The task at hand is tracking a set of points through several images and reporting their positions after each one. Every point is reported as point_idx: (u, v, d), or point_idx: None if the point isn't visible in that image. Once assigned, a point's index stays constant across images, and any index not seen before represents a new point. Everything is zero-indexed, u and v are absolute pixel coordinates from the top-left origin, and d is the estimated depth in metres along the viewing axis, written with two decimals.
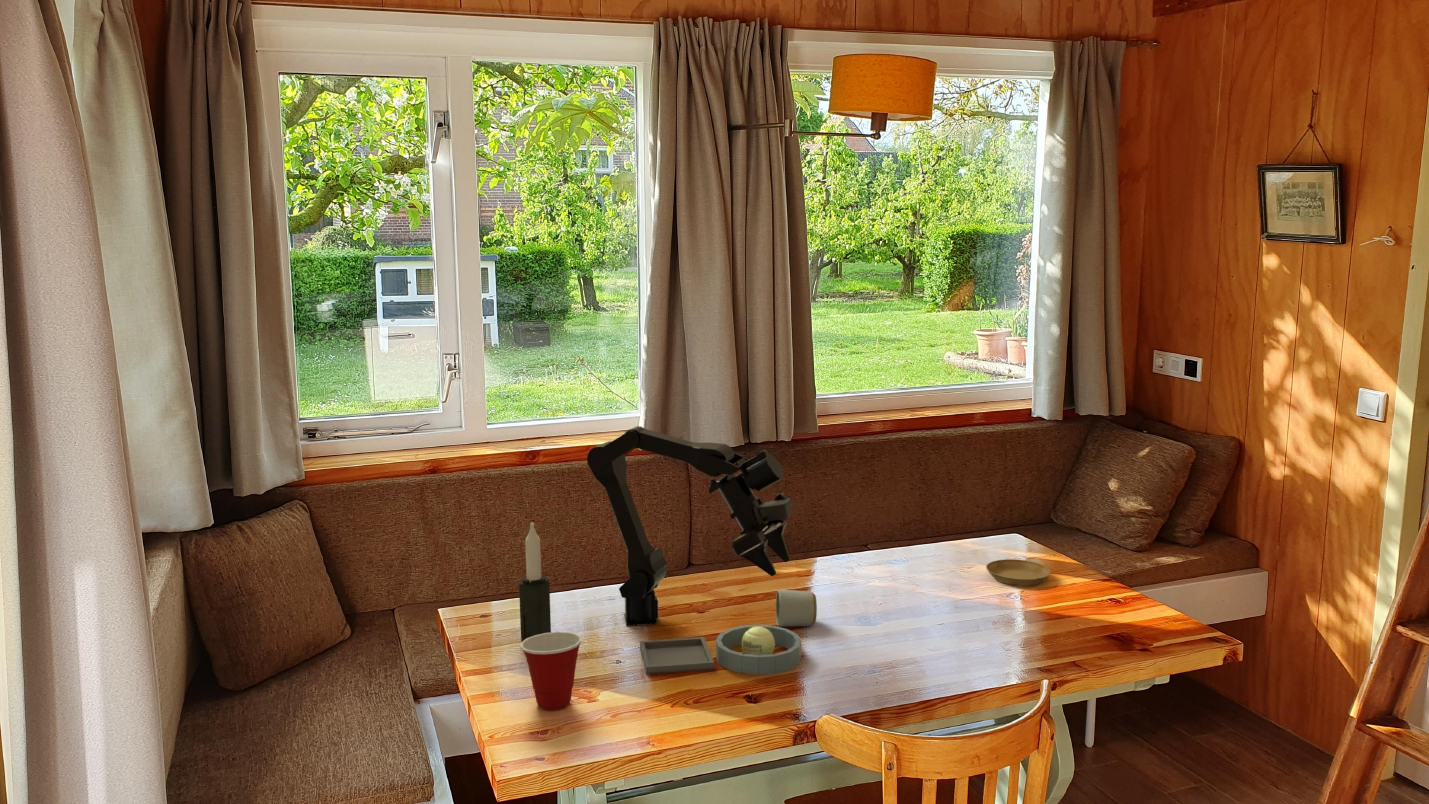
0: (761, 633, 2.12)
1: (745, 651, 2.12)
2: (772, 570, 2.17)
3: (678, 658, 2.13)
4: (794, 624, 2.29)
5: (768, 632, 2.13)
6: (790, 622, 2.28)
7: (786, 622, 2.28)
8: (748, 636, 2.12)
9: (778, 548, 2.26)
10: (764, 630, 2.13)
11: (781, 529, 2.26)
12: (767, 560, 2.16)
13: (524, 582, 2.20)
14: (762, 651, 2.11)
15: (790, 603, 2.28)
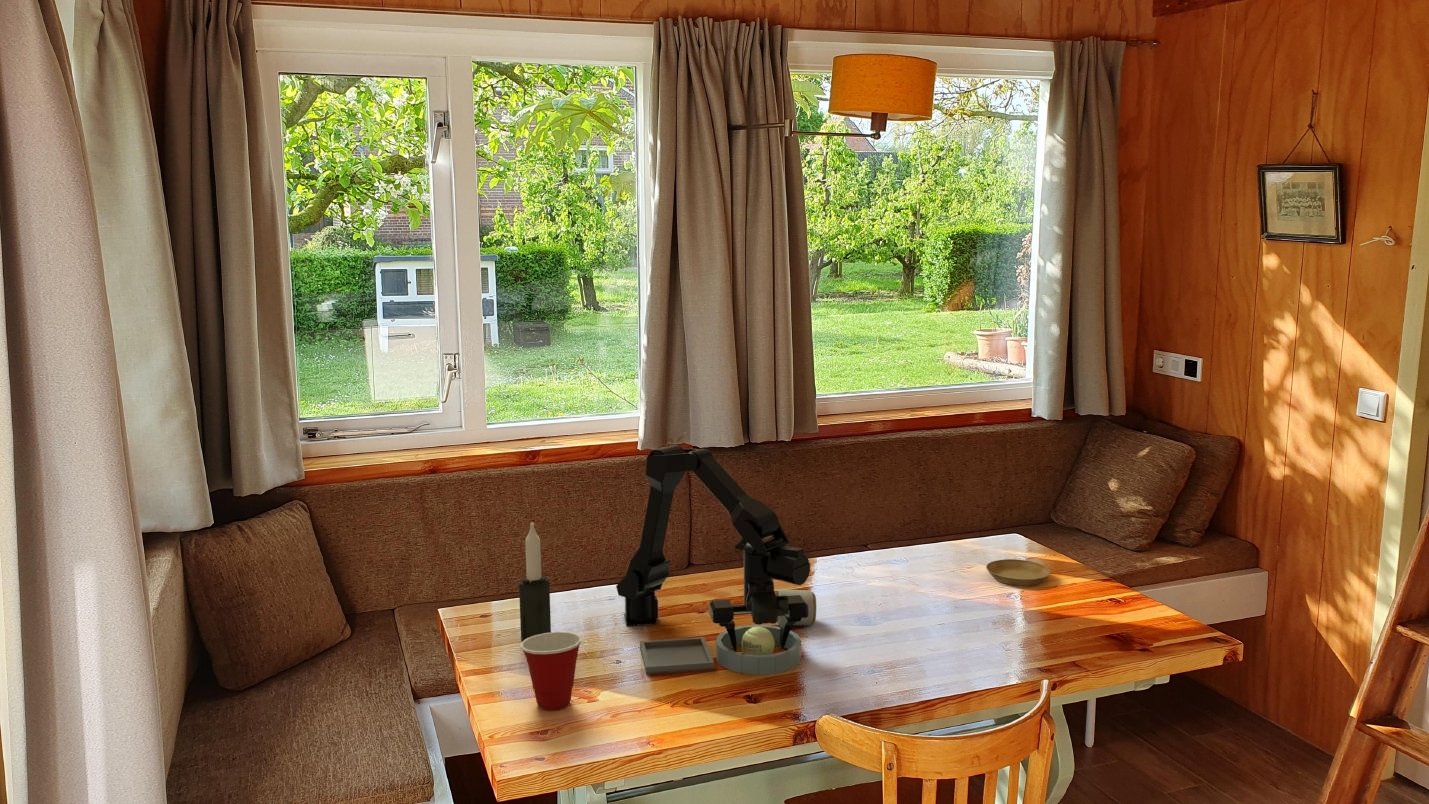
0: (761, 633, 2.12)
1: (745, 651, 2.12)
2: (733, 648, 2.13)
3: (678, 658, 2.13)
4: None
5: (768, 632, 2.13)
6: None
7: None
8: (748, 636, 2.12)
9: (781, 632, 2.15)
10: (764, 630, 2.13)
11: (786, 622, 2.12)
12: (730, 638, 2.12)
13: (524, 582, 2.20)
14: (762, 651, 2.11)
15: None
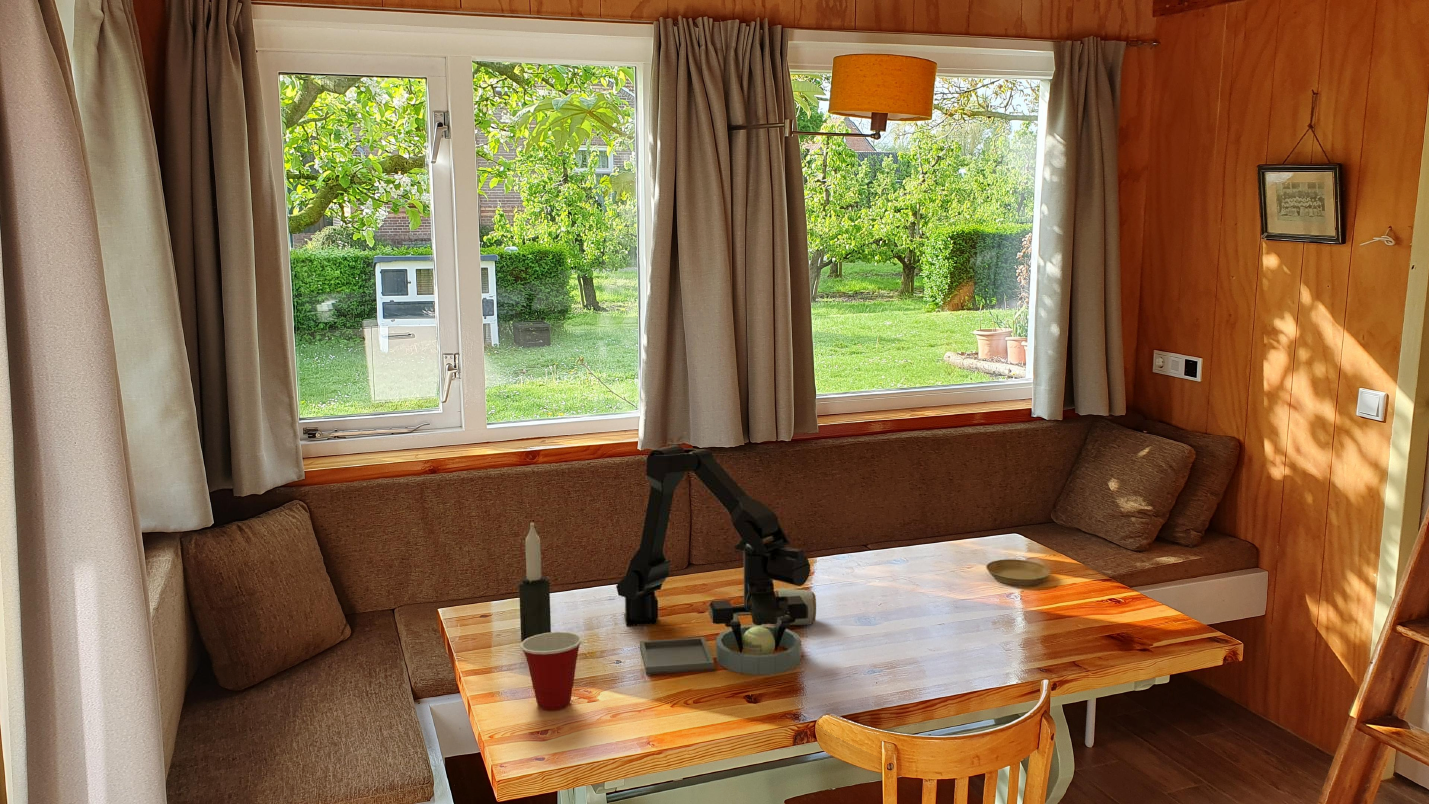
0: (761, 633, 2.12)
1: (745, 651, 2.12)
2: None
3: (678, 658, 2.13)
4: (794, 623, 2.29)
5: (768, 632, 2.13)
6: None
7: None
8: (748, 636, 2.12)
9: (775, 633, 2.15)
10: (764, 630, 2.13)
11: (780, 623, 2.12)
12: (735, 638, 2.12)
13: (524, 582, 2.20)
14: (762, 651, 2.11)
15: None
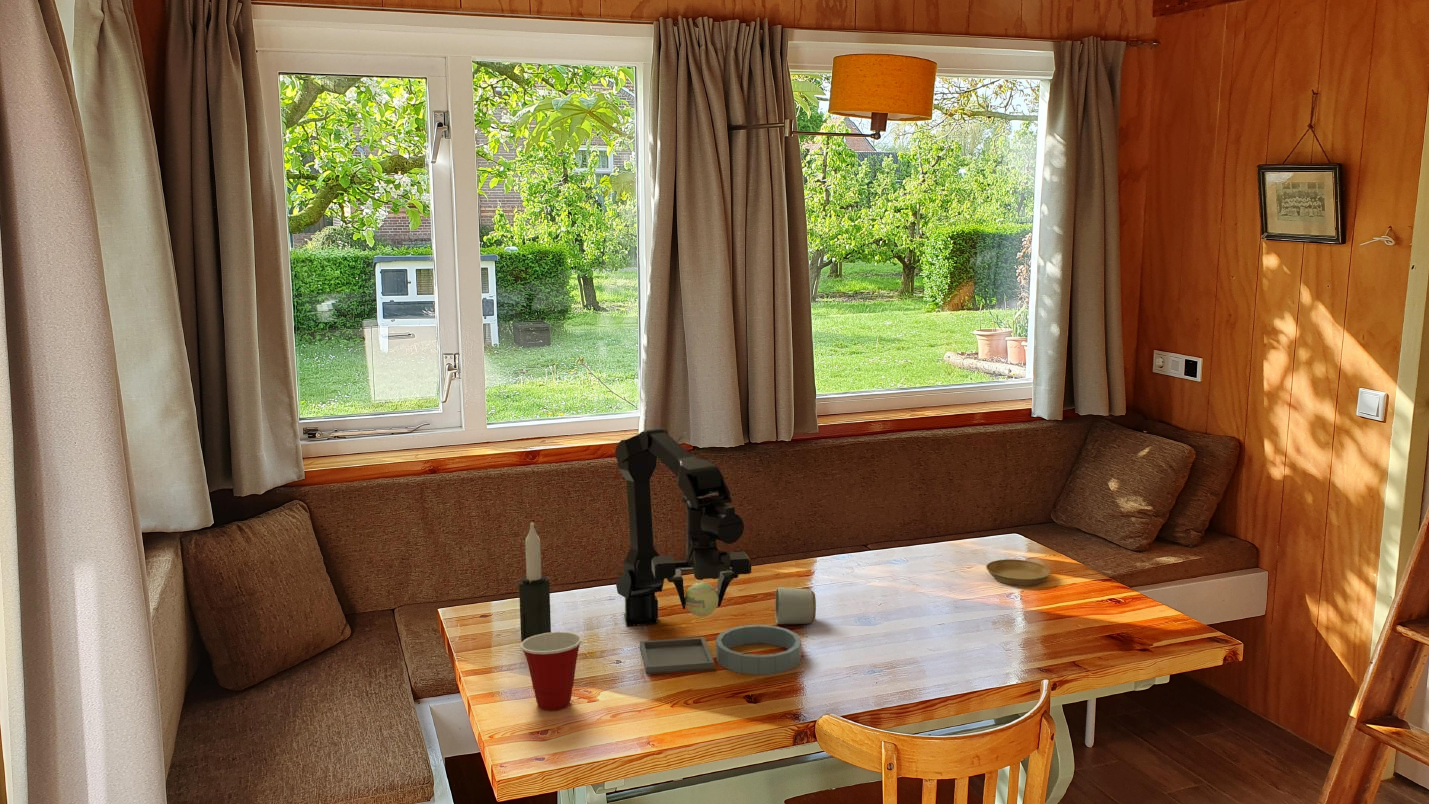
0: (704, 589, 2.10)
1: (688, 607, 2.11)
2: (681, 604, 2.12)
3: (678, 658, 2.13)
4: (793, 622, 2.30)
5: (711, 588, 2.11)
6: (789, 620, 2.30)
7: (785, 620, 2.29)
8: (691, 591, 2.10)
9: (718, 589, 2.13)
10: (707, 586, 2.11)
11: (723, 578, 2.10)
12: (678, 593, 2.11)
13: (524, 582, 2.20)
14: (705, 607, 2.09)
15: (789, 601, 2.29)
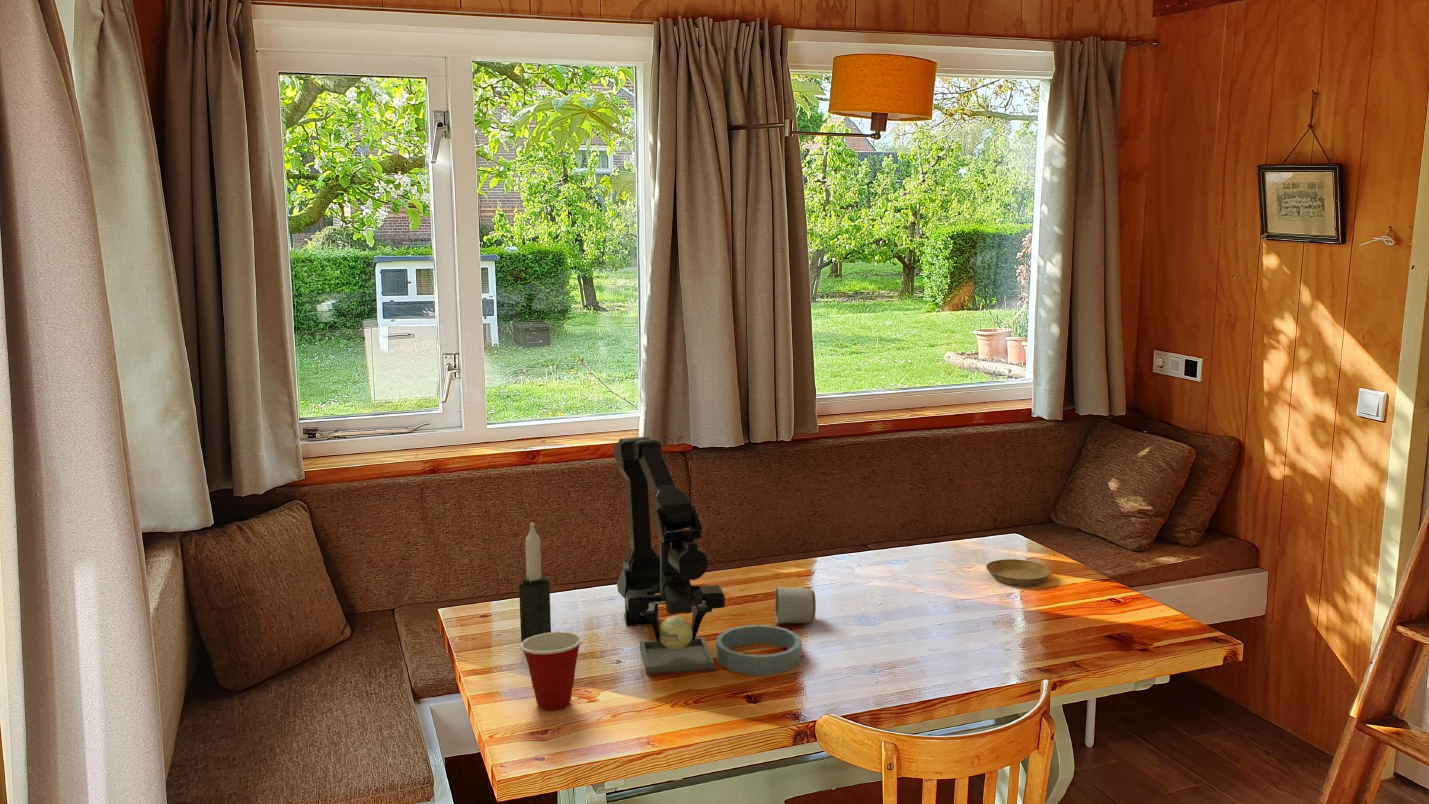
0: (678, 623, 2.11)
1: (662, 640, 2.12)
2: None
3: (678, 658, 2.13)
4: (793, 621, 2.31)
5: (685, 621, 2.12)
6: (789, 619, 2.30)
7: (785, 619, 2.30)
8: (665, 625, 2.11)
9: (692, 623, 2.14)
10: (681, 619, 2.12)
11: (696, 612, 2.11)
12: (652, 627, 2.11)
13: (524, 582, 2.20)
14: (678, 641, 2.10)
15: (789, 600, 2.29)
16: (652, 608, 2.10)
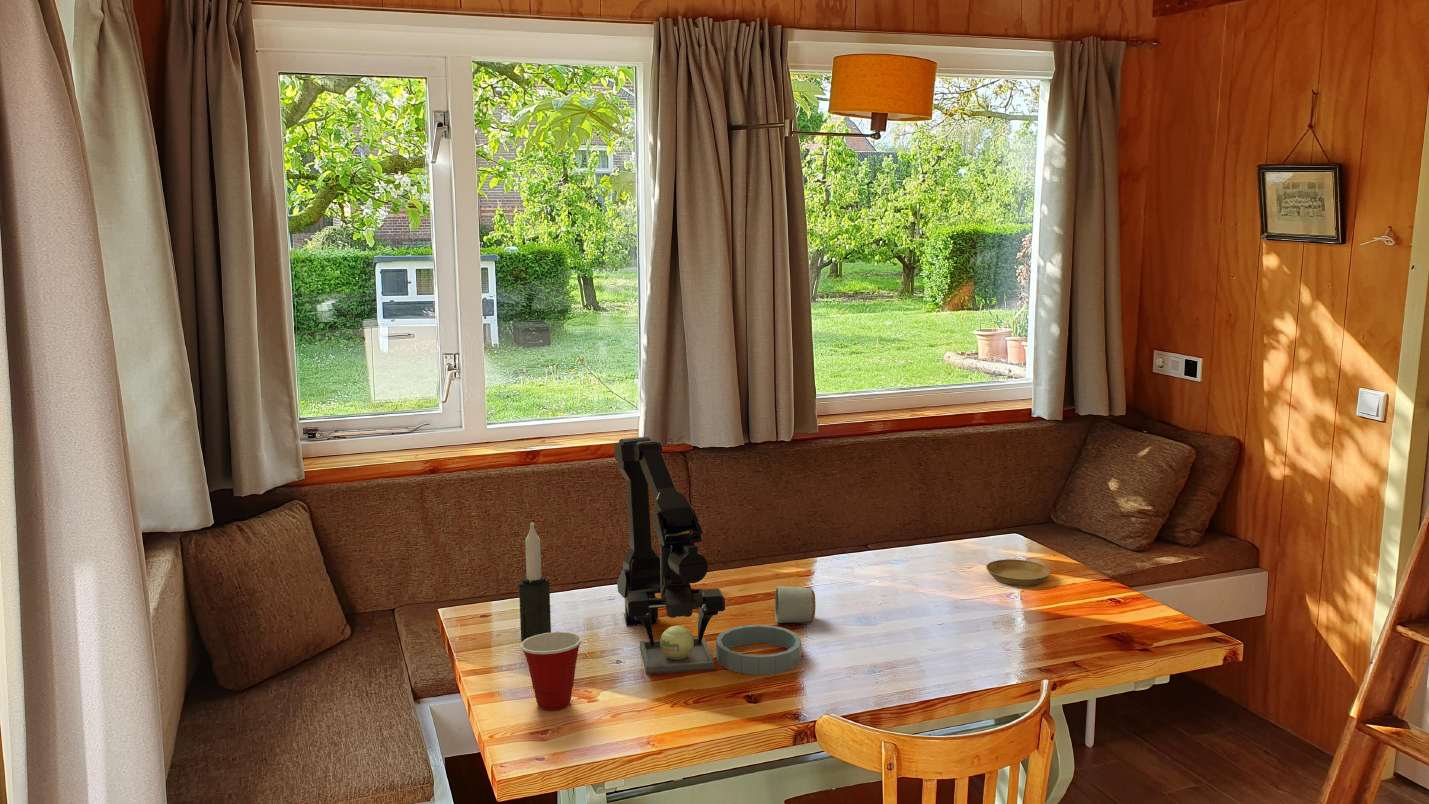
0: (679, 633, 2.11)
1: (663, 650, 2.12)
2: (650, 641, 2.12)
3: None
4: (793, 620, 2.31)
5: (686, 631, 2.12)
6: (789, 618, 2.30)
7: (785, 618, 2.30)
8: (666, 635, 2.12)
9: (699, 626, 2.14)
10: (682, 629, 2.12)
11: (703, 615, 2.11)
12: None
13: (524, 582, 2.20)
14: (679, 651, 2.10)
15: (789, 599, 2.30)
16: None
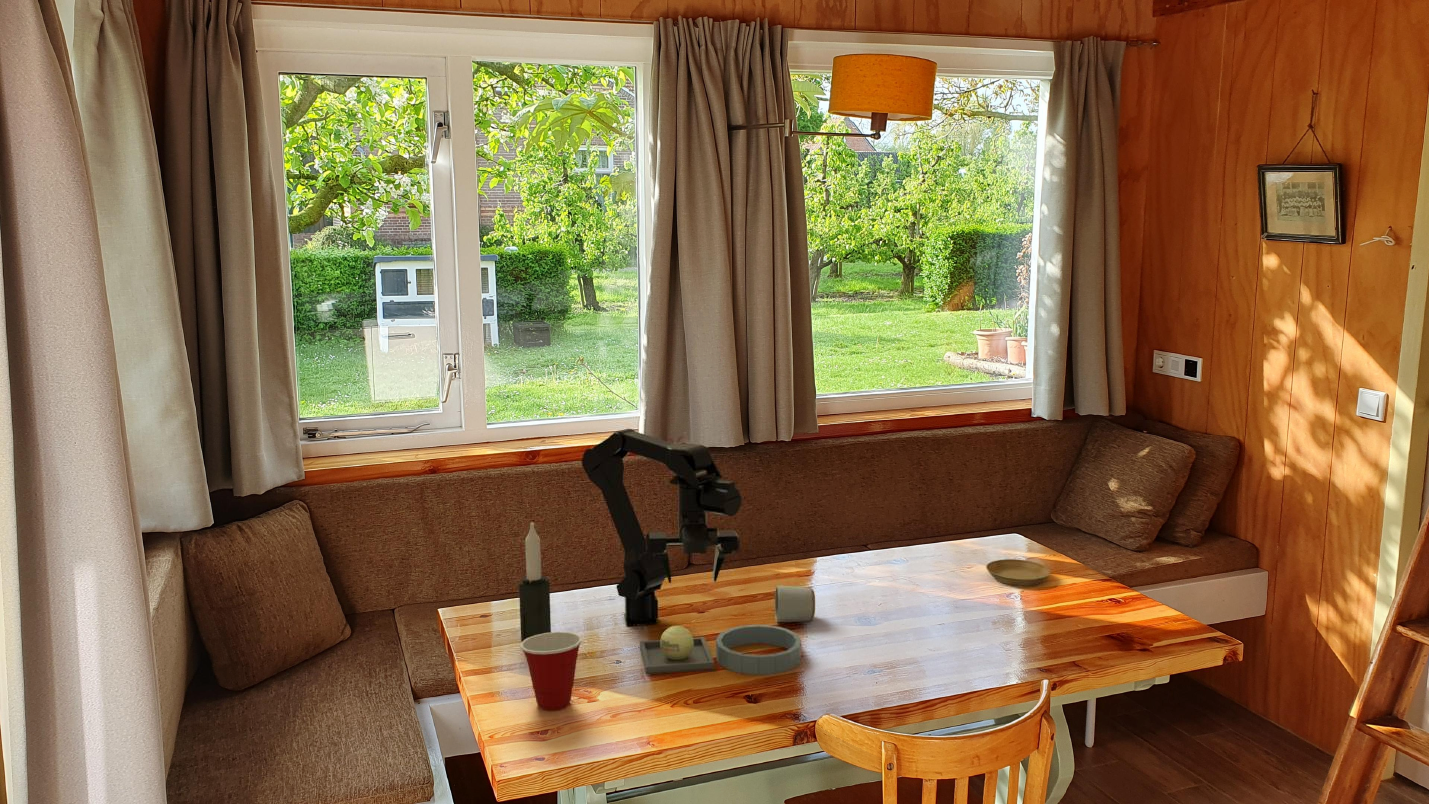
0: (679, 633, 2.11)
1: (663, 650, 2.12)
2: None
3: None
4: (793, 619, 2.31)
5: (686, 631, 2.12)
6: (789, 618, 2.31)
7: (785, 617, 2.31)
8: (666, 635, 2.12)
9: (714, 565, 2.24)
10: (682, 629, 2.12)
11: (718, 554, 2.21)
12: (664, 568, 2.22)
13: (524, 582, 2.20)
14: (679, 651, 2.10)
15: (789, 599, 2.30)
16: None
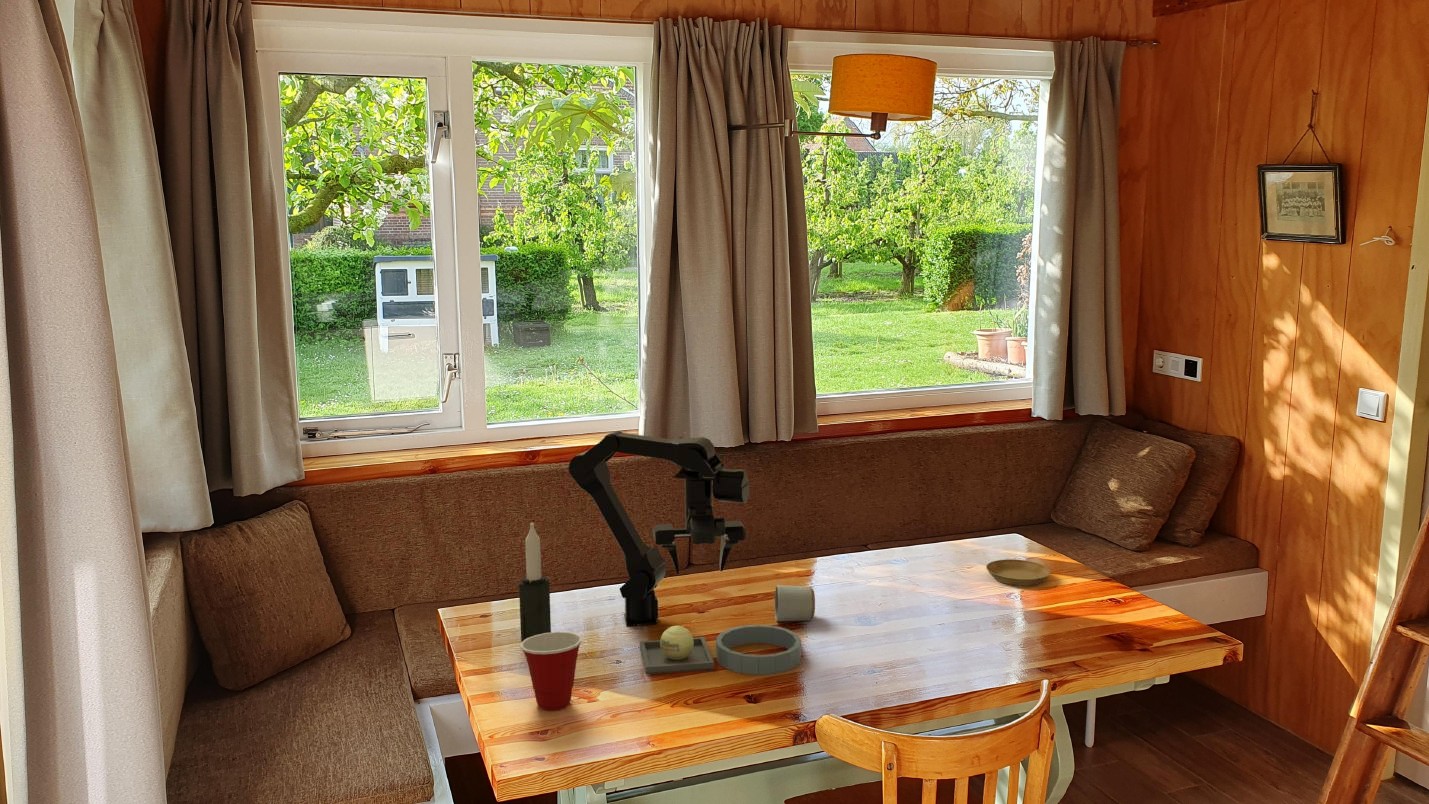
0: (679, 633, 2.11)
1: (663, 650, 2.12)
2: (675, 569, 2.27)
3: None
4: (793, 619, 2.32)
5: (686, 631, 2.12)
6: (789, 617, 2.31)
7: (785, 617, 2.31)
8: (666, 635, 2.12)
9: (721, 555, 2.29)
10: (682, 629, 2.12)
11: (725, 544, 2.26)
12: (672, 559, 2.26)
13: (524, 582, 2.20)
14: (679, 651, 2.10)
15: (789, 598, 2.31)
16: None
